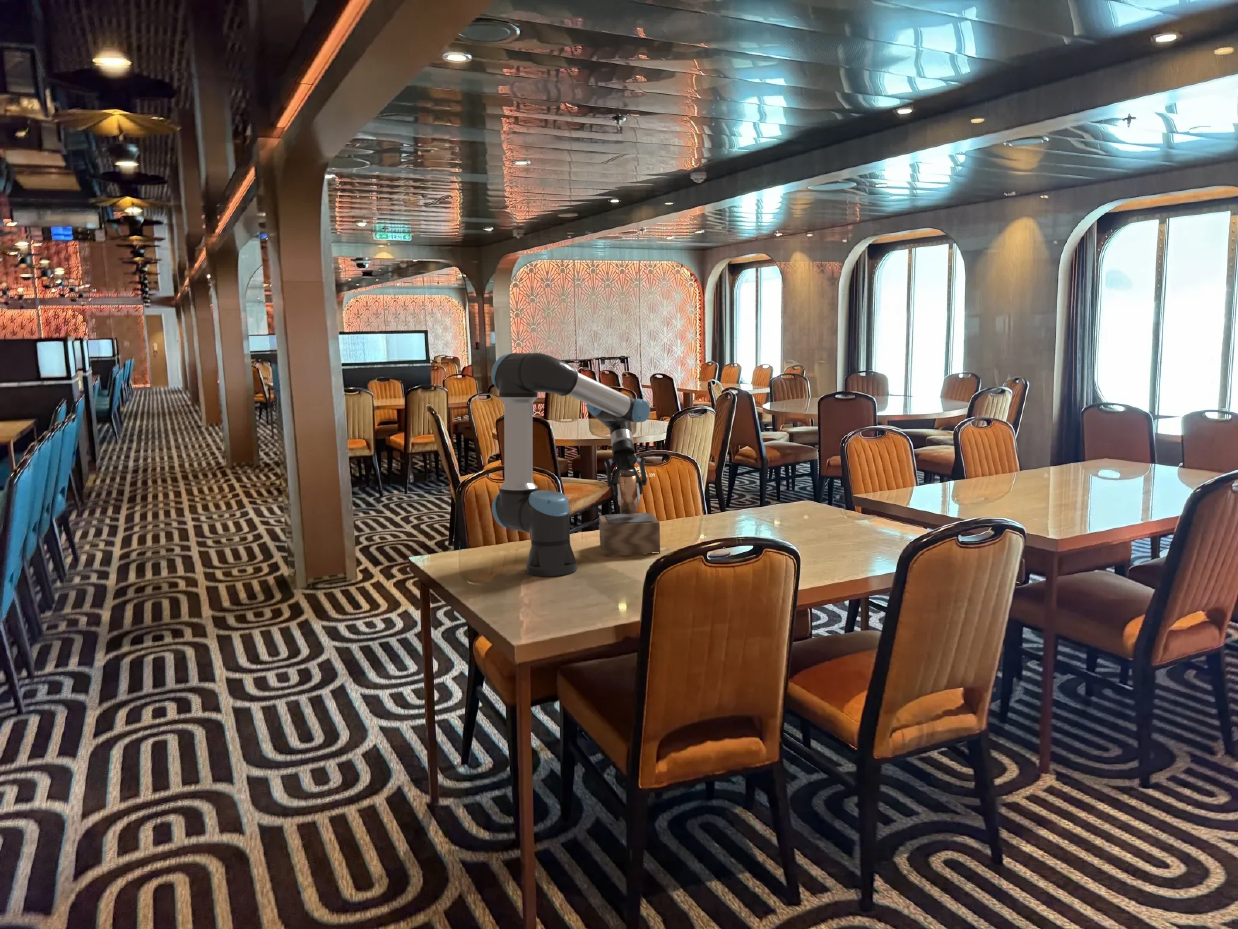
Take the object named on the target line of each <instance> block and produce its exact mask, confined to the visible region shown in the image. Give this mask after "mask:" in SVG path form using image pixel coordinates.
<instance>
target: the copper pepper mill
mask: <svg viewBox="0 0 1238 929" xmlns="http://www.w3.org/2000/svg"><path fill="white" fill-rule="evenodd" d="M618 484H620V492H621V505H619V514H634V513H638V503H637V492H636V475H634V469H622V470H621V472H620V476H619V480H618Z"/></svg>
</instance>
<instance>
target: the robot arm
mask: <svg viewBox="0 0 1238 929" xmlns="http://www.w3.org/2000/svg"><path fill="white" fill-rule="evenodd" d="M490 375H491V376H490V378H491V382H492V385H494V387H495V389H496V390H498V398H499V399H500V401H502V403H503V406H504V407H503V411H504V412H503V413H504V414H503V418H504V419H503V422H504V424H503V426H504V428H503V429H504V430H503V432H504V433H503V434H504V438H503V439H504V440H503V442H504V444H503V445H504V448H503V449H504V451H503V452H504V455H503V456H504V458H503V459H504V481H503V483H502V484H501V485H500V486H499V492H497V493H496V495H495V498H494V499H493V501H492V503H491V504H492V505H491V512H492V516H493V518H494V520H495V522H496V523H497V524H498V525H500V527H503V528H505V529H507V530H511V531H518V532H523V533H528V534H530V549H529V553H528V556H527V559H526V563H525V566H526V567H525V569H526V570H525V571H526V573H527V574H529V575H531V576H538V577H559V576H566V575H569V574H573V573H574V572H576V571H577V569H578V566H577V565H578V563H577V559H576V556H575V554H574V551H573V548H572V545H571V525H570V524H571V523H570V521H571V520H570V517H571V516H570V506H569V499H568V496H567V495H566V494H564V493H563V492H562V493H561V492H559V491H555V490H545V489H544V490H538V485H537V484H535V483H534V480H533V478H534V477H533V475H534V474H533V472H534V471H533V469H534V468H533V467H534V466H533V462H534V460H533V456H534V455H533V448H534V447H533V440H534V439H533V435H534V434H533V421H534V419H533V412H534V411H533V408H534V407H533V404H534V402H535V401H536V400H537V399H538V398H539V397H538V395H539V394H538V393H549V394H554V395H555V394H556V395H559V396H560V397H567V396H568V397H570V398H571V397H572V398H573V399H576V400H578V401H580V402H582V403H585V405H586V410H587V411H588V412H589V413H590V414H591V415H592V416H593V418H595V419H597V420H598V421H599V422H601V424H603V425H604V426H606V427H607V428H608V430H609V434H610V435H609V436H610V441H611V442H610V444H611V452H612V456H611V458H609V459H608V458H605V459H604V467H605V469H606V481H607V483H606V484H607V487H608V488H612V489H613V495H614V496H615V497H616V496H617V502H618V506H620V505H621V492H620V484H619V476H621V470H622V469H634V475H636V492H637V505H641V496H642V495H643V491H644V490H643V486H647V481H648V478H647V472H646V469H645V468H646V467H645V460H646V459H645V458H646V457H644V456H643V457H641V458H639V457H637V455H636V453H635V452H636V451H635V445H634V444H635V441H634V436H633V431H632V423H635V424H637V423H644V422H646V421H647V420H648V419H649V417H650V413H651V406H650V403H648V401H647V400H646V399H641V398H633V397H631V396H628V395H627V394H626V395H625V394H624V393H622V392H619V391H618V390H615V389H613V388H612V387H610V386H607V385H605V384H603V383H601V382H599V381H596V380H595V379H593V378H590V377H588V376H586V375H584V374H582V373H580V372H578V369H577V368H576V367H575V366H574V365H572V364H570V363H568V362H565V361H563V360H561V359H558V358H556V357H554V356H551V355H549V354H547V353H541V352H525V353H524V352H523V353H522V352H512V353H505V354H502V355H501V356H499V357H498V358H497V360H496V361H495V362H494V363H493V366H492V368H491V374H490ZM636 463H637V464H638V466H639V470H640V475H639V473H638V471H637V468H636V466H635V465H636ZM612 464H613V465H615V466H616V469H615V470H616V472H615V475H614V480H613V481H612V467H611V466H612Z"/></svg>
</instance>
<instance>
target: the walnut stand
mask: <svg viewBox="0 0 1238 929" xmlns="http://www.w3.org/2000/svg"><path fill="white" fill-rule="evenodd" d="M598 521H599V522H598V523H599V524H598V525H599V526H598V527H599V546H600V548H601V549H600V550H601V551H603V552H602V554H603V557H613V556H612V555H619V556H635V555H636V554H639V555H645V554H644V553H652V552H659V554H661V530H660V529H661V528H660V527H661V526H660V524H661V523H660V521H659V519H658V518H657V517H656V516H655V515H654V513H652V512H651V513H650V512H649V513H648V512H639V513H638V512H637V513H634V514H621V513H617V514H616V513H615V514H614V513H613V514H605V515H599V516H598Z"/></svg>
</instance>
